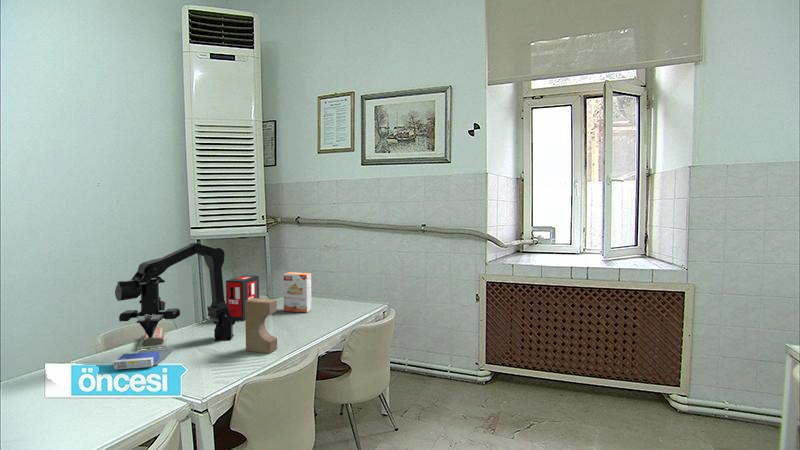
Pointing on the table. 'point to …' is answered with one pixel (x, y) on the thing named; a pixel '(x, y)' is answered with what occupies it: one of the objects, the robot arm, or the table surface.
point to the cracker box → (297, 292)
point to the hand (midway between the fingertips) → (150, 337)
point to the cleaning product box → (241, 294)
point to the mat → (160, 354)
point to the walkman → (136, 360)
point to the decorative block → (259, 325)
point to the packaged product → (153, 340)
